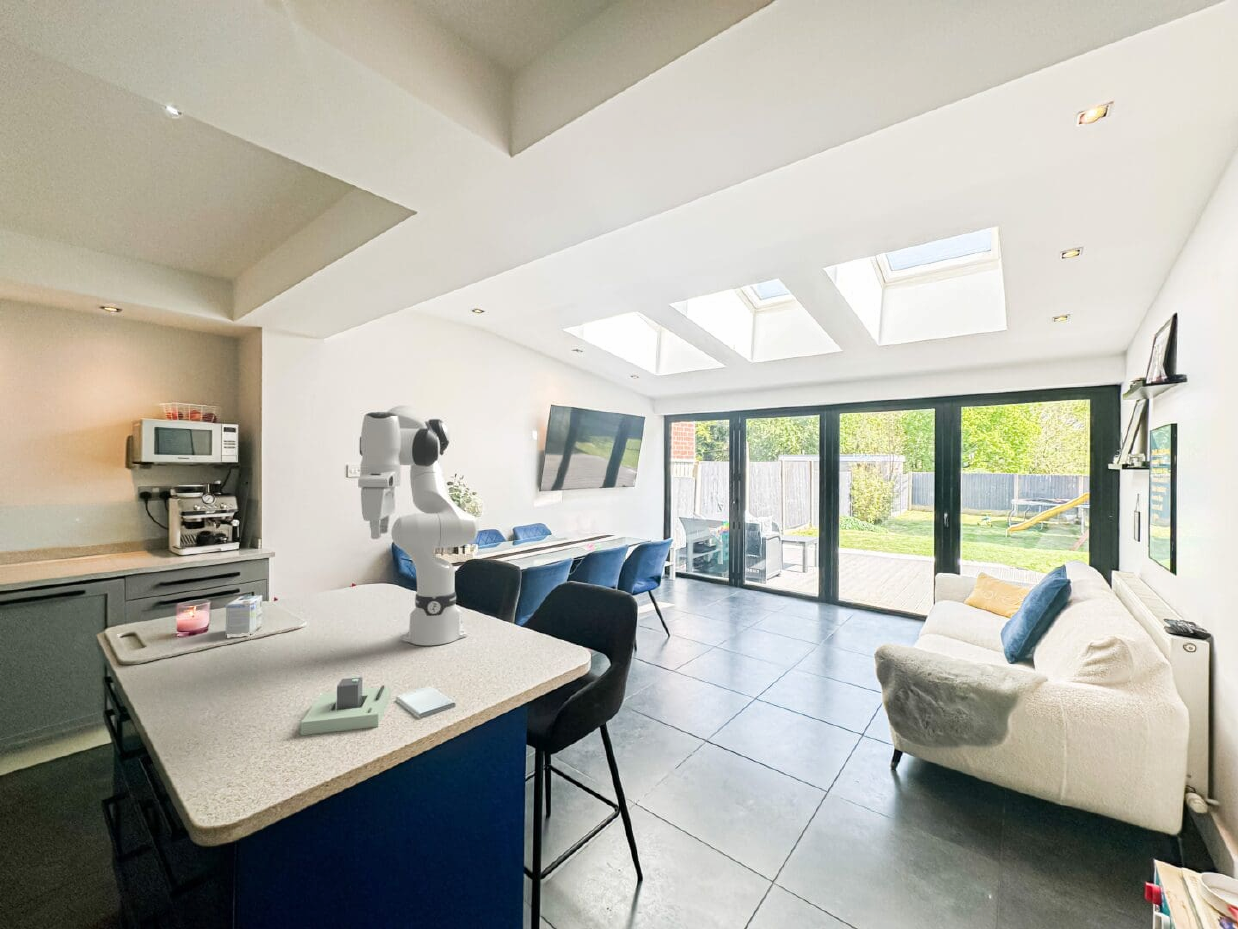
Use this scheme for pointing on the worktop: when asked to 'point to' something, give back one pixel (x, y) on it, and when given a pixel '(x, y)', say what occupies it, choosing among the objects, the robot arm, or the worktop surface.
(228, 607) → the light bulb box
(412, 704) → the hard drive
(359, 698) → the plug
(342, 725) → the outlet plate
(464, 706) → the worktop surface
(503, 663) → the worktop surface
